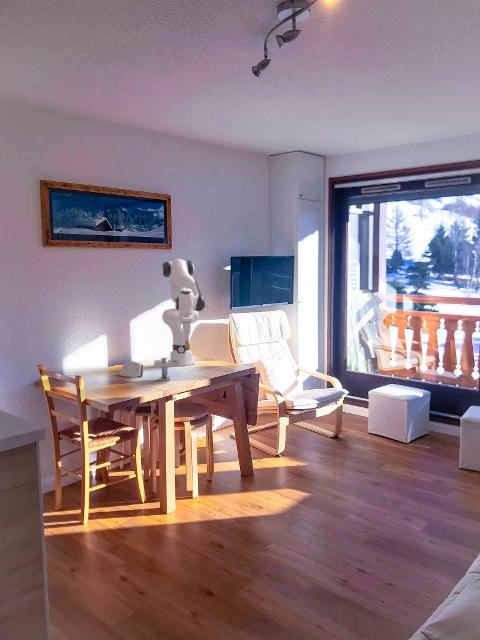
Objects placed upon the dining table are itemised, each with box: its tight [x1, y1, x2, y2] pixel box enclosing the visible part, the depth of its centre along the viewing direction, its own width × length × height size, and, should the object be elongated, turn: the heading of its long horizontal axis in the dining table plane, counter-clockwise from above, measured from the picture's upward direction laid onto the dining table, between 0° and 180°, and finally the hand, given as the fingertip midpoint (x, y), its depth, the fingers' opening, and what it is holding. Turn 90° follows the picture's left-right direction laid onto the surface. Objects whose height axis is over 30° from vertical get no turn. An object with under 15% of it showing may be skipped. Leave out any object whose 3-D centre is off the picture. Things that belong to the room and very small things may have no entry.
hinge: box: [118, 360, 145, 379], centre depth 347 cm, size 17×5×10 cm, turn 54°
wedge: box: [185, 335, 190, 348], centre depth 336 cm, size 2×2×12 cm
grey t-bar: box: [153, 357, 181, 382], centre depth 334 cm, size 10×15×13 cm, turn 96°
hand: (186, 340), depth 336 cm, fingers closed on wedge, 2 cm apart
